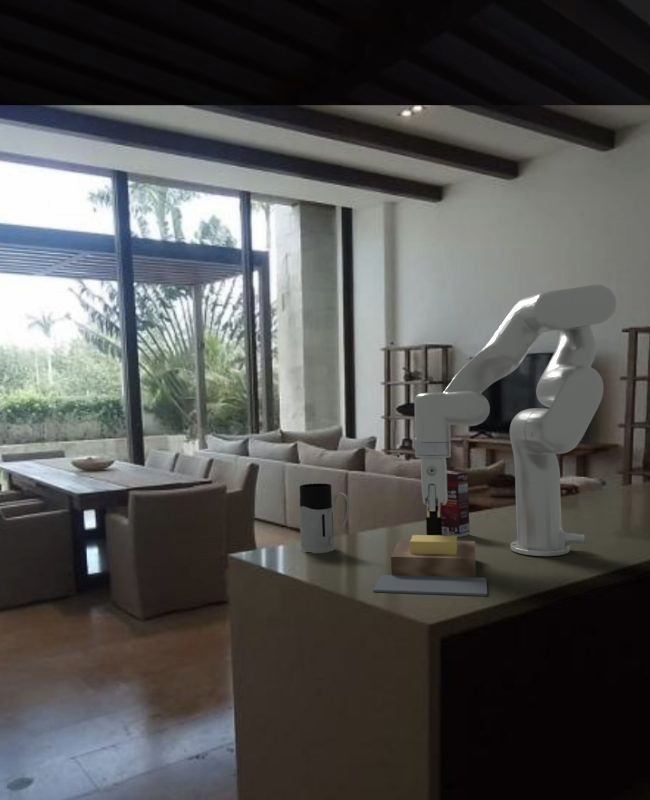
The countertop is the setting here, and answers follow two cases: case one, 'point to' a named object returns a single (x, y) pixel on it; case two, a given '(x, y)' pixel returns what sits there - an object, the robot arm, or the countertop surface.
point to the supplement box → (456, 505)
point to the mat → (432, 585)
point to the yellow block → (433, 544)
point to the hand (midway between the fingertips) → (434, 535)
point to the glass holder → (318, 518)
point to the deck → (434, 561)
